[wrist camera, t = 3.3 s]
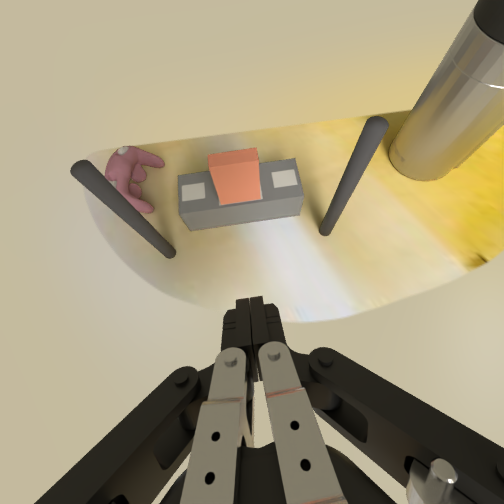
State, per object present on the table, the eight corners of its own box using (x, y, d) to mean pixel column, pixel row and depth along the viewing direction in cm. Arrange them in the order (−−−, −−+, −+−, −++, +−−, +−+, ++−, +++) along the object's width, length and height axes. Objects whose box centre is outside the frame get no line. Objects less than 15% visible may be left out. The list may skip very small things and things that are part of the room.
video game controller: (149, 168, 43) (110, 140, 37) (168, 160, 41) (129, 129, 35) (136, 220, 39) (91, 197, 34) (155, 214, 37) (110, 189, 32)
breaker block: (291, 180, 38) (294, 156, 34) (299, 215, 36) (304, 195, 31) (188, 195, 39) (177, 174, 34) (190, 231, 36) (178, 213, 32)
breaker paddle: (258, 188, 32) (256, 147, 25) (260, 199, 31) (258, 160, 25) (220, 194, 32) (207, 154, 25) (221, 204, 31) (208, 167, 25)
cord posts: (329, 224, 35) (384, 114, 18) (332, 235, 35) (391, 130, 18) (164, 248, 36) (71, 161, 19) (164, 259, 35) (69, 178, 18)
